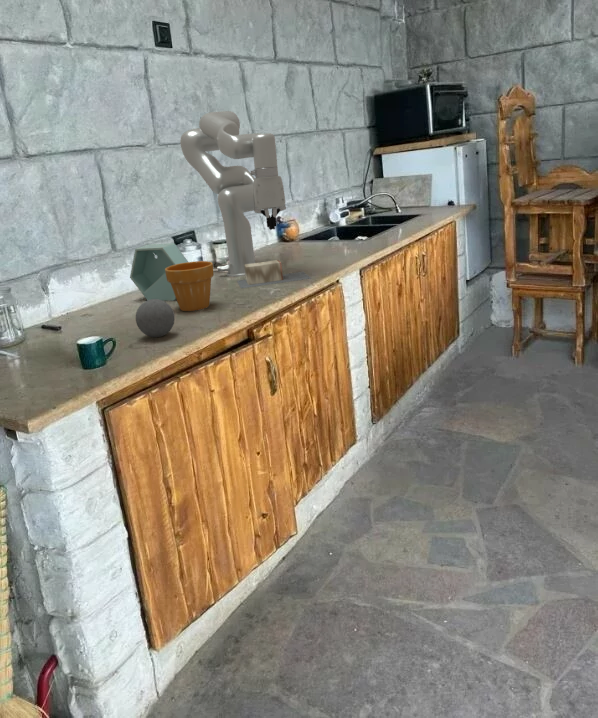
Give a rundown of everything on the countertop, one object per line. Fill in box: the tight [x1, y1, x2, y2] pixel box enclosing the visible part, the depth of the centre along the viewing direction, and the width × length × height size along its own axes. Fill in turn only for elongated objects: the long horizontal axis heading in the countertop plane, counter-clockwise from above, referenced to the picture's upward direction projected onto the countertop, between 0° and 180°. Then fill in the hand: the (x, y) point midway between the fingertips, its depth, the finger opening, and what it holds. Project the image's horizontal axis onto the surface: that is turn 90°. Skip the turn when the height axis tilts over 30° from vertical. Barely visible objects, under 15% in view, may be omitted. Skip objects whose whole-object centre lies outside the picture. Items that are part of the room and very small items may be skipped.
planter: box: [129, 242, 189, 302], centre depth 225 cm, size 17×8×21 cm
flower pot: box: [165, 260, 215, 312], centre depth 208 cm, size 14×14×13 cm
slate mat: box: [236, 271, 312, 289], centre depth 236 cm, size 24×14×1 cm, turn 101°
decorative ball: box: [135, 299, 176, 338], centre depth 180 cm, size 10×10×10 cm
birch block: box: [244, 259, 283, 285], centre depth 235 cm, size 6×6×12 cm
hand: (272, 228), depth 232 cm, fingers closed
